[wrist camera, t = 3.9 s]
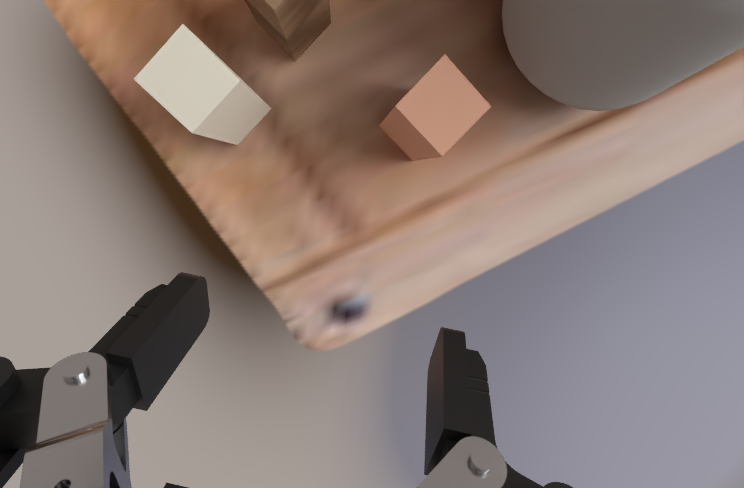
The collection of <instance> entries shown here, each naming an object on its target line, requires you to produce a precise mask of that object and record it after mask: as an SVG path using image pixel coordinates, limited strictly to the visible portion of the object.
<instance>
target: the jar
mask: <svg viewBox="0 0 744 488" xmlns="http://www.w3.org/2000/svg"><path fill="white" fill-rule="evenodd" d="M502 23H503V33H504V36H505V40H506V43H507V46H508V49H509V52H510V54H511V56H512V58H513V59H514V61H515V63H516V65H517V67H518V68H519V70H520V71H521V72H522V73H523V74H524V76H525V77H526V78H527V79H528V80H529V82H530V83H531V84H533V85H534V86H535V87H536V88H538V89H539V90H540V91H541V92H542V93H544V94H545V95H547V96H549V97H551V98H553V99H554V100H556V101H558V102H560V103H562V104H565V105H569V106H572V107H575V108H578V109H586V110H595V111H602V110H613V109H620V108H623V107H626V106H630V105H633V104H636V103H639V102H642V101H645V100H647V99H648V98H650V97H652V96H654V95H656V94H658V93H660V92H662V91H664V90H665V89H667V88H669V87H671V86H673V85H674V84H676V83H678V82H680V81H682V80H683V79H685V78H687V77H689V76H691V75H692V74H694V73H696V72H698V71H700V70H702V69H703V68H705V67H707V66H709V65H711V64H712V63H714V62H716V61H718V60H720V59H721V58H723V57H725V56H727V55H729V54H730V53H732V52H734V51H736V50H738V49H739V48H741V47H743V46H744V0H503V7H502Z"/></svg>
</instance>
